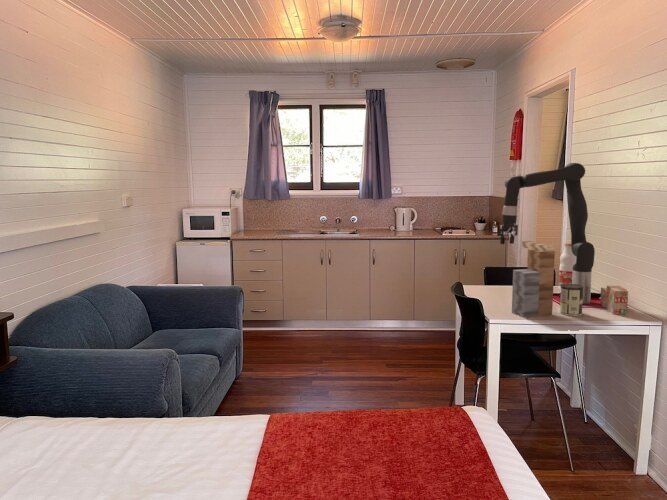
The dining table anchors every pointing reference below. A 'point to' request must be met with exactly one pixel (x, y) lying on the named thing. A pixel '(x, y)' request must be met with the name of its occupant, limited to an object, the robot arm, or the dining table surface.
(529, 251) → the stepped stand
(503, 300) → the dining table surface
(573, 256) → the fruit juice
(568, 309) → the coffee can
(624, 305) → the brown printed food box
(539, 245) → the birch bar
